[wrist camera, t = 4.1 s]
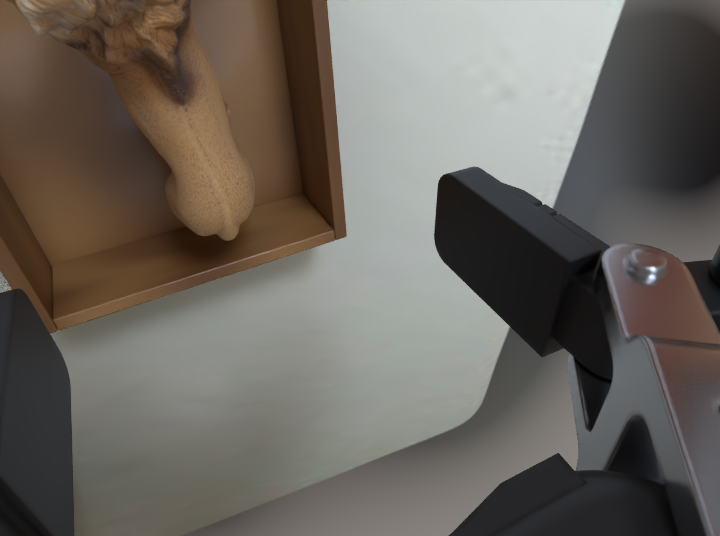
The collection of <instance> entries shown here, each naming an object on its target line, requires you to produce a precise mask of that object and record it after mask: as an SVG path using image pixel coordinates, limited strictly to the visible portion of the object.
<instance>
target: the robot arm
mask: <svg viewBox="0 0 720 536" xmlns="http://www.w3.org/2000/svg"><path fill="white" fill-rule="evenodd" d="M434 239H435V245H436V248H437V251H438V254H439V256H440V257H441V259H442V260H443V261H444V263H445V264H446V265H447V266H448V267H450V268H451V269H452V270H453V271H454V272H455V273H456V274H457V275H458V276H459V277H460V278H461V279H462V280H463V281H464V282H465V283H466V284H467V285H468V286H469V287H470V288H471V289H472V290H473V291H474V292H475V293H476V294H477V295H478V296H479V297H480V298H481V299H482V300H483V301H484V302H485V303H486V304H488V305H489V306H490V307H491V308H492V309H493V310H494V311H495V312H496V313H497V314H498V315H499V316H500V317H501V318H502V319H503V320H504V321H505V322H506V323H507V324H508V325H509V326H510V327H511V328H512V329H513V330H514V331H515V332H516V333H517V334H518V335H519V336H520V337H522V339H524V341H526V342H527V343H528V344H529V345H530V346H531V347H532V348H533V349H534V350H535V351H536V352H537V353H538V354H539V355H540V356H541V357H544V356H547V355H549V354H551V353H554V352H556V351H558V350H560V349H563V348H565V349H566V350H567V351H568V352H569V353H570V355H569V358H568V361H567V371H568V378H569V384H570V391H571V398H572V405H573V411H574V418H575V425H576V431H577V438H578V462H577V468H576V471H574V470H573V469H572V468H571V467H570V465H569V464H568V463H567V462H566V461H565V460H564V459H563V457H562V456H561V455H560V454H559V453H557V454H555V455H554V456H552V457H550V458H548V459H546V460H544V461H542V462H540V463H538V464H536V465H534V466H533V467H531V468H529V469H527V470H525V471H523V472H521V473H519V474H517V475H516V476H514V477H512V478H510V479H508V480H506V481H504V482H502V483H501V484H500V485H499V486H498V487H497V488H496V489H495V490H494V491H493V492H492V493H491V494H490V495H489V496H488V497H487V498H486V499H485V500H484V501H483V502H482V503H481V504H480V505H479V506H478V507H477V508H476V509H475V510H474V511H473V512H472V513H471V514H470V515H469V516H468V517H467V518H466V519H465V520H464V521H463V522H462V523H461V524H460V525H459V526H458V528H456V530H454V532H452V533H451V534H450V535H449V536H720V245H719V248H718V250H717V251H716V253H715V255H714V257H713V260H706V261H694V262H682V261H680V260H679V259H678V258H677V257H675V256H673V255H672V254H670V253H668V252H666V251H663V250H661V249H659V248H655V247H652V246H647V245H643V244H631V243H627V244H619V245H615V246H612V247H610V246H609V245H607V244H605V243H604V242H602V241H601V240H599V239H598V238H596V237H595V236H593V235H591V234H590V233H588V232H587V231H586V230H584V229H582V228H581V227H579V226H578V225H576V224H575V223H573V222H572V221H570V220H568V219H567V218H566V217H564V216H562V215H561V214H559V215H557V213H556V211H555V210H553V209H552V208H550V207H549V206H547V205H546V204H545V205H542V202H541V201H540V200H538V199H536V198H535V197H533V196H532V195H530V194H529V193H527V192H526V191H524V190H521V189H519V188H516V187H513V186H510V185H507V184H504V183H502V182H500V181H499V180H497V179H496V178H494V177H493V176H491V175H490V174H488V173H487V172H485V171H484V170H482V169H480V168H479V167H470V168H467V169H463V170H459V171H456V172H452V173H448V174H445V175H443V176H442V177H441V178H440V180H439V183H438V192H437V205H436V219H435V233H434ZM0 536H74V501H73V462H72V424H71V387H70V379H69V374H68V370H67V367H66V364H65V361H64V359H63V356H62V354H61V352H60V350H59V349H58V347H57V345H56V343H55V342H54V340H53V338H52V337H51V335H50V333H49V331H48V330H47V328H46V326H45V325H44V323H43V321H42V319H41V318H40V316H39V314H38V312H37V311H36V309H35V307H34V306H33V304H32V302H31V300H30V299H29V297H28V296H27V294H26V293H25V292H24V291H23V290H22V289H20V288H17V289H13V290H10V291H6V292H2V293H0Z"/></svg>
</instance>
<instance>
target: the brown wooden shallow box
mask: <svg viewBox="0 0 720 536" xmlns="http://www.w3.org/2000/svg"><path fill="white" fill-rule="evenodd" d="M190 8H191V12H192V18H193V28H194V30H195V31H196V33H197V35H198V37H199V38H200V40H201V42H202V44H203V46H204V48H205V50H206V52H207V55H208V57H209V59H210V62H211V64H212V66H213V69H214V71H215V74H216V77H217V81H218V84H219V88H220V92H221V96H222V99H223V102H224V103H225V104H227V105H228V107H229V108H230V111H231V118H230V129H231V133H232V136H233V139H234V141H235V142H236V143H237V144H238V145H239V147H240V149H241V151H242V153H243V154H244V155H245V157H246V158H247V160H248V162H249V164H250V166H251V169H252V172H253V175H254V182H255V198H254V205H253V208H252V211H251V213H250V215H249V216H248V218H247V219H246V220H245V221H244V222H243V223H241V224H240V226H239V232H238V234H237V236H236V237H235V238H234V239H232V240H229V241H226V240H223V239H221V238H220V237H219V235H217V234H213V235H209V236H201V235H198V234H196V233H195V232H193V231H192V230H191V229H189V228H188V227H187V226H186V225H185V224H184V223H183V222H182V221H181V220H179V219H178V218H177V217H176V215H175V214H174V213H173V211H172V209H171V208H170V206H169V203H168V201H167V197H166V191H165V184H166V180H167V179H168V177H169V176H170V174H171V172H172V169H171V167H170V166H169V164H168V163H167V162H166V160H165V159H164V158H163V157H162V156H161V155H160V154H159V153H158V151H157V150H156V149H155V148H154V147H153V145H152V144H151V143H150V142H149V140H148V139H147V138H146V136H145V135H144V134H143V133H142V131H141V130H140V129H139V127H138V126H137V125H136V123H135V122H134V121H133V119H132V118H131V117H130V115H129V114H128V112H127V110H126V109H125V107H124V105H123V103H122V101H121V100H120V98H119V96H118V94H117V92H116V90H115V88H114V85H113V82H112V80H111V77H110V75H109V73H108V72H107V71H105V70H103V69H101V68H99V67H98V66H96V65H95V64H94V63H92V62H91V61H90V60H89V59H88V58H87V57H85V56H84V55H83V54H82V53H81V52H80V51H79V50H77V49H75V48H72V47H70V46H68V45H66V44H65V43H64V42H59V41H57V40H55V39H54V38H53V37H52V36H51V35H50V34H48V33H47V34H46V35H45V36H39V35H38V34H37V33H36V32H35V31H34V29H33V28H32V27H31V25H30V23H29V21H28V19H27V18H26V17H25V16H24V15H23V14H21V13H20V12H19V10H18V9H17V8H16V7H15V5H13V4H12V3H10V2H8V1H5V0H0V271H1V272H2V274H3V276H4V277H5V279H6V280H7V282H8V283H9V285H10V286H11V288H12V290H13V289H17V288H20V289H22V290H23V291H24V292H25V293H26V294H27V296H28V297H29V299H30V300H31V302H32V304H33V306H34V307H35V309H36V311H37V312H38V314H39V316H40V318H41V319H42V321H43V323H44V325H45V326H46V328H47V330H48V331H49V333H53V332H56V331H58V329H59V330H62V329H65V328H68V327H71V326H74V325H77V324H80V323H83V322H86V321H90V320H93V319H96V318H99V317H102V316H105V315H108V314H111V313H114V312H117V311H120V310H123V309H126V308H129V307H132V306H135V305H138V304H142V303H145V302H148V301H151V300H154V299H157V298H160V297H163V296H166V295H169V294H172V293H175V292H178V291H181V290H184V289H187V288H191V287H194V286H197V285H200V284H203V283H206V282H209V281H212V280H215V279H218V278H221V277H224V276H227V275H230V274H233V273H236V272H239V271H243V270H246V269H249V268H252V267H255V266H258V265H261V264H264V263H267V262H270V261H273V260H276V259H279V258H282V257H285V256H288V255H292V254H295V253H298V252H301V251H304V250H307V249H310V248H313V247H316V246H319V245H322V244H325V243H328V242H331V241H334V240H335V239H336V240H337V239H341V238H344V237H346V224H345V212H344V200H343V188H342V176H341V164H340V152H339V140H338V128H337V116H336V104H335V92H334V80H333V68H332V57H331V45H330V33H329V21H328V9H327V0H191V4H190Z"/></svg>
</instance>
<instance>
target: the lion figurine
mask: <svg viewBox="0 0 720 536" xmlns="http://www.w3.org/2000/svg"><path fill="white" fill-rule="evenodd" d="M5 1H8V2H10V3H12V4H13V5H15V7H16V8H17V9H18V10H19V12H20V13H21V14H23V15H24V16H25V17H26V18H27V19H28V21H29V23H30V25H31V27H32V28H33V29H34V31H35V32H36V33H37V34H38V35H39V36H45V35H46V34H47V33H48V34H50V35H51V36H52V37H53V38H54V39H55V40H57V41H59V42H64V43H65V44H66V45H68V46H70V47H72V48H75V49H77V50H79V51H80V52H81V53H82V54H83V55H84V56H85V57H87V58H88V59H89V60H90V61H91V62H92V63H94V64H95V65H96V66H98V67H99V68H101V69H103V70H105V71H107V72H108V73H109V75H110V77H111V80H112V82H113V85H114V88H115V90H116V92H117V94H118V96H119V98H120V100H121V101H122V103H123V105H124V107H125V109H126V110H127V112H128V114H129V115H130V117H131V118H132V119H133V121H134V122H135V123H136V125H137V126H138V127H139V129H140V130H141V131H142V133H143V134H144V135H145V136H146V138H147V139H148V140H149V142H150V143H151V144H152V145H153V147H154V148H155V149H156V150H157V151H158V153H159V154H160V155H161V156H162V157H163V158H164V159H165V160H166V162H167V163H168V164H169V166H170V167H171V169H172V172H171V174H170V176H169V177H168V179H167V180H166V184H165V191H166V197H167V201H168V203H169V206H170V208H171V209H172V211H173V213H174V214H175V215H176V217H177V218H178V219H179V220H181V221H182V222H183V223H184V224H185V225H186V226H187V227H188V228H189V229H191V230H192V231H193V232H195V233H196V234H198V235H201V236H209V235H213V234H217V235H219V237H220V238H221V239H223V240H226V241H229V240H232V239H234V238H235V237H236V236H237V234H238V232H239V226H240V224H241V223H243V222H244V221H245V220H246V219H247V218H248V216H249V215H250V213H251V211H252V208H253V205H254V198H255V182H254V175H253V172H252V169H251V166H250V164H249V162H248V160H247V158H246V157H245V155H244V154H243V153H242V151H241V149H240V147H239V145H238V144H237V143H236V142H235V141H234V139H233V136H232V133H231V129H230V118H231V111H230V108H229V107H228V105H227V104H225V103H224V102H223V99H222V96H221V92H220V88H219V84H218V81H217V77H216V74H215V71H214V69H213V66H212V64H211V62H210V59H209V57H208V55H207V52H206V50H205V48H204V46H203V44H202V42H201V40H200V38H199V37H198V35H197V33H196V31H195V30H194V28H193V18H192V12H191V8H190V4H191V0H5Z"/></svg>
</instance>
